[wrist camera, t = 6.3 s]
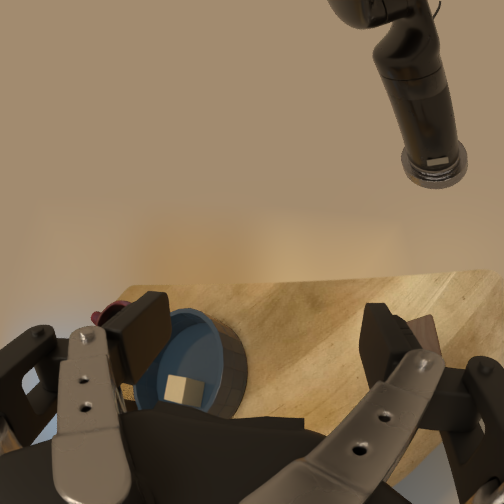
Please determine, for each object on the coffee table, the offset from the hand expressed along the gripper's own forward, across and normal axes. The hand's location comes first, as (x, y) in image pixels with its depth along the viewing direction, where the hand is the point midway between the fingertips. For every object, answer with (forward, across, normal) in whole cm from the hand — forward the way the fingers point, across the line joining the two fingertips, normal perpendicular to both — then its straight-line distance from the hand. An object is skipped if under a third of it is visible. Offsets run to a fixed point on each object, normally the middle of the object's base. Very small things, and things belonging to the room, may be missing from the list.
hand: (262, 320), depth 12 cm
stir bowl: (+25, +13, +25) cm, 38 cm away
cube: (+23, +13, +26) cm, 37 cm away
